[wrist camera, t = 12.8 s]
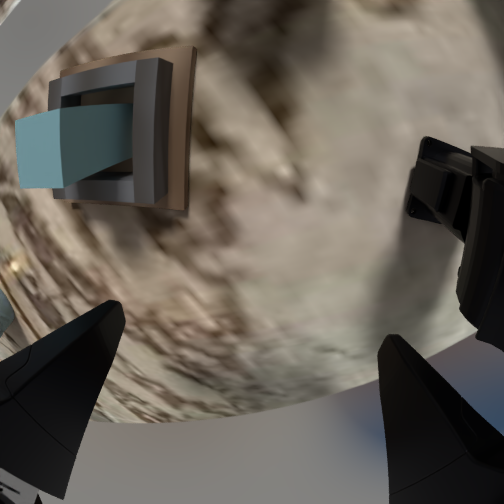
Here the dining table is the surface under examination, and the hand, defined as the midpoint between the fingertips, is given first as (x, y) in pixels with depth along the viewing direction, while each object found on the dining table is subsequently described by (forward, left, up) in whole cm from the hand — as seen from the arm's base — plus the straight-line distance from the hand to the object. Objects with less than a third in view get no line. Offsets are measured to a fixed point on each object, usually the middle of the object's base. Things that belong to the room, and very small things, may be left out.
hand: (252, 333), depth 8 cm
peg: (+12, -5, -12) cm, 18 cm away
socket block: (+12, -5, -13) cm, 18 cm away
